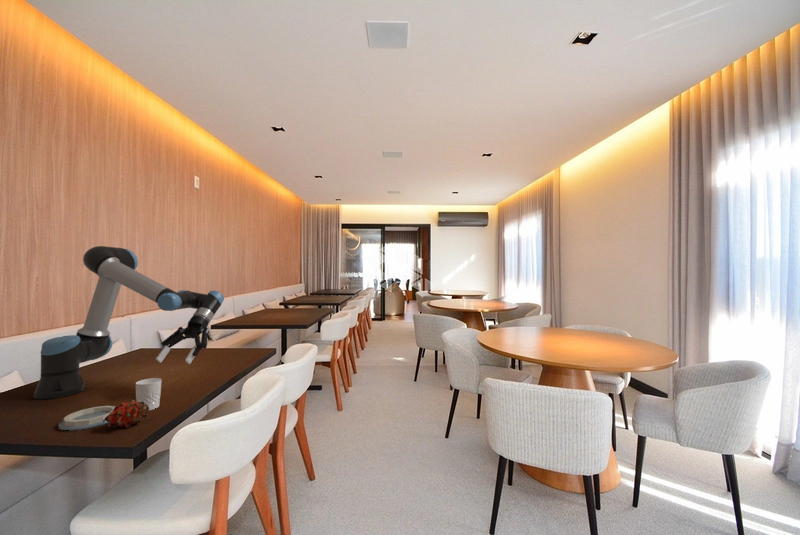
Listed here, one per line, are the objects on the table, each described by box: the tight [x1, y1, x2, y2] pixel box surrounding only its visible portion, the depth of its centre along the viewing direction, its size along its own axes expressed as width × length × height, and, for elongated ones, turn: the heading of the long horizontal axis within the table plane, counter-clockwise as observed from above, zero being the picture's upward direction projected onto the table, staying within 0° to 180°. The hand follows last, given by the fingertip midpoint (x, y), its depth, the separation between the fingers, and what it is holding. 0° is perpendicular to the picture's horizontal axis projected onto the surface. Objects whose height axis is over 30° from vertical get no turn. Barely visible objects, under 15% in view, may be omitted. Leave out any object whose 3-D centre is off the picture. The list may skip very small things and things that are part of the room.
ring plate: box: [58, 405, 117, 432], centre depth 117 cm, size 16×16×2 cm
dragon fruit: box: [103, 399, 149, 429], centre depth 113 cm, size 8×8×12 cm
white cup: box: [135, 377, 163, 412], centre depth 128 cm, size 8×8×10 cm
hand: (172, 361), depth 139 cm, fingers open, 13 cm apart
